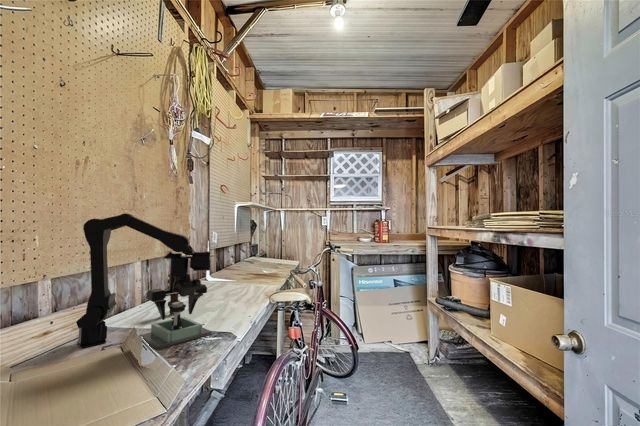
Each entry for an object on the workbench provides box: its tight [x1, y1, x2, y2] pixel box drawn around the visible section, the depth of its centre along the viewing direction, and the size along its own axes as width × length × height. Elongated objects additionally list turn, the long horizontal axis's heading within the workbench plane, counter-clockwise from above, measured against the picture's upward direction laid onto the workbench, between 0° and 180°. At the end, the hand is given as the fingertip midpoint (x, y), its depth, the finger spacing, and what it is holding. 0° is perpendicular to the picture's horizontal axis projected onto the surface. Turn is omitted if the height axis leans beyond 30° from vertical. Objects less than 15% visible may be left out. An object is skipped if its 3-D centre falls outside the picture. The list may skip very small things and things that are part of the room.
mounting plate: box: [139, 326, 212, 350], centre depth 104 cm, size 18×14×1 cm
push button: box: [168, 301, 187, 331], centre depth 104 cm, size 7×5×10 cm
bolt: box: [167, 278, 181, 316], centre depth 130 cm, size 6×5×15 cm
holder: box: [150, 316, 203, 343], centre depth 104 cm, size 11×13×3 cm
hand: (177, 316), depth 104 cm, fingers open, 9 cm apart
